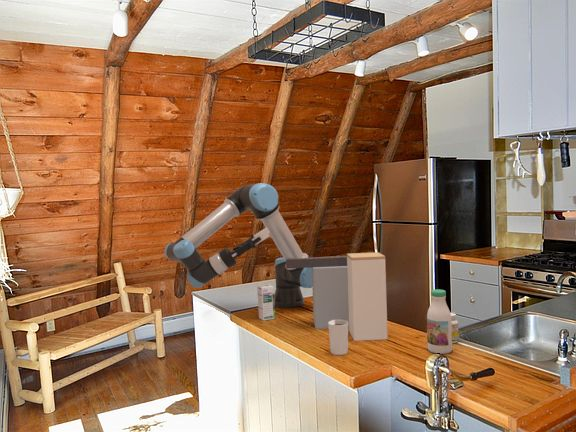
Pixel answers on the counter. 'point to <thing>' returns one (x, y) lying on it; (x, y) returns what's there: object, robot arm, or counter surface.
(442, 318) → the milk bottle
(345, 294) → the tall grey pillar block
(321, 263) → the handle rail
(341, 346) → the white cup
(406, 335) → the counter surface
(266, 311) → the syrup box
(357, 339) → the cabinet block
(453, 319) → the supplement bottle
